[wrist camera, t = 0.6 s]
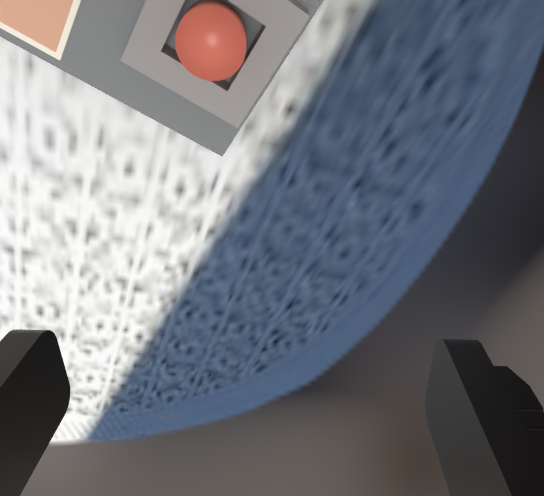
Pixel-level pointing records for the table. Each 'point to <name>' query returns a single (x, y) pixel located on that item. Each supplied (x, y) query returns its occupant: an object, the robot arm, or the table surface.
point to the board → (134, 84)
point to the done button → (211, 40)
